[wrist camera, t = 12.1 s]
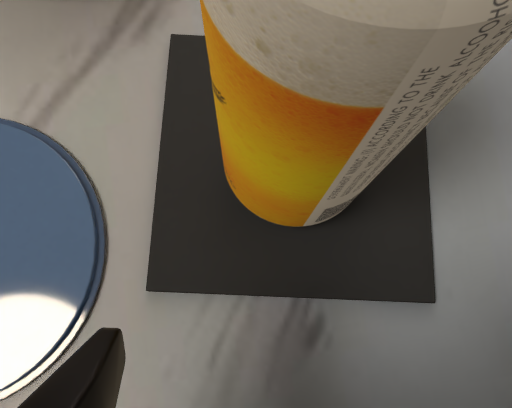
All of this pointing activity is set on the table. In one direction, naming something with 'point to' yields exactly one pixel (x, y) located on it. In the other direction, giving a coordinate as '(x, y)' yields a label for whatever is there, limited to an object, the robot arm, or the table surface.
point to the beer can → (334, 90)
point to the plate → (43, 253)
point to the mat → (270, 234)
